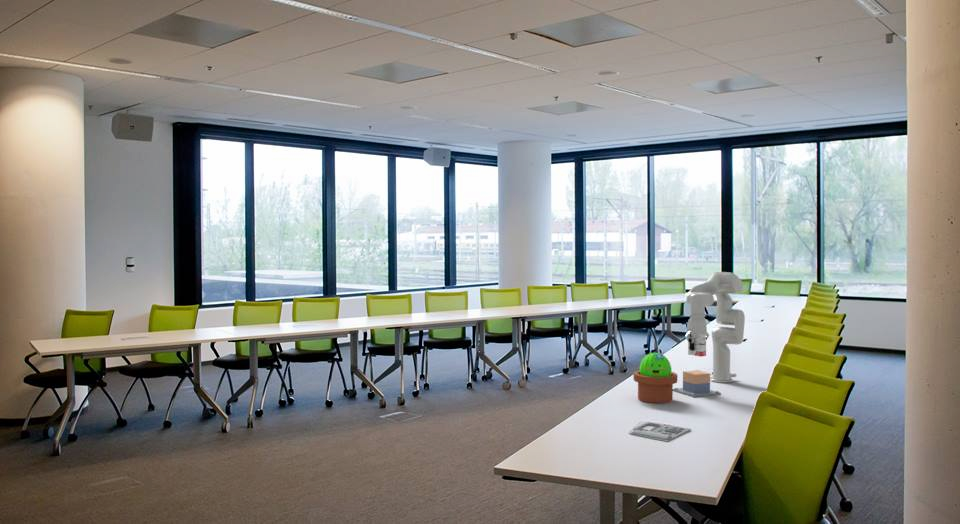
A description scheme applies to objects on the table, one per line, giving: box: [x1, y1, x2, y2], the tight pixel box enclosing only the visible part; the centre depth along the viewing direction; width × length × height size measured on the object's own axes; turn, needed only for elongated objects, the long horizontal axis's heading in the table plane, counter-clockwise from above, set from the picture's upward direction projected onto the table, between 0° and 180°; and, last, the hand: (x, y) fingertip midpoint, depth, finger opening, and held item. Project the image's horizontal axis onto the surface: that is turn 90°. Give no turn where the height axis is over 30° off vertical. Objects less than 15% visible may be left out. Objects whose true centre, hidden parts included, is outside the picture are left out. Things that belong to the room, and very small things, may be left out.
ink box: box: [687, 334, 707, 358], centre depth 394 cm, size 8×5×12 cm, turn 39°
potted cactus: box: [633, 352, 678, 404], centre depth 377 cm, size 22×22×25 cm
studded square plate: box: [673, 369, 722, 398], centre depth 394 cm, size 18×18×11 cm
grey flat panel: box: [629, 421, 692, 443], centre depth 314 cm, size 23×3×20 cm
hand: (697, 349), depth 394 cm, fingers closed on ink box, 6 cm apart
